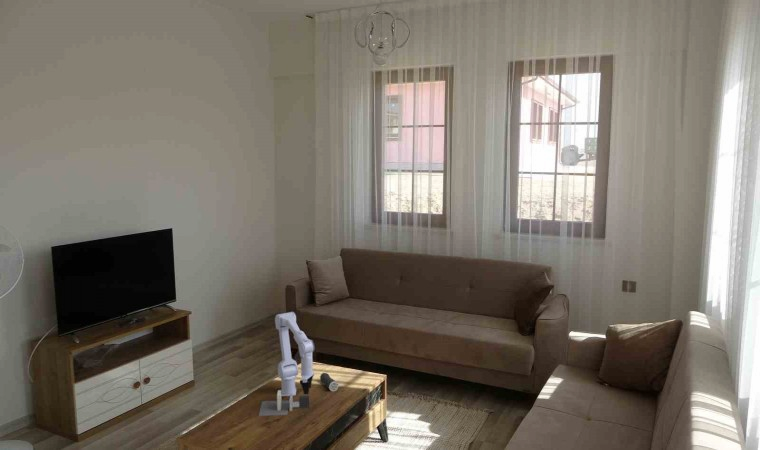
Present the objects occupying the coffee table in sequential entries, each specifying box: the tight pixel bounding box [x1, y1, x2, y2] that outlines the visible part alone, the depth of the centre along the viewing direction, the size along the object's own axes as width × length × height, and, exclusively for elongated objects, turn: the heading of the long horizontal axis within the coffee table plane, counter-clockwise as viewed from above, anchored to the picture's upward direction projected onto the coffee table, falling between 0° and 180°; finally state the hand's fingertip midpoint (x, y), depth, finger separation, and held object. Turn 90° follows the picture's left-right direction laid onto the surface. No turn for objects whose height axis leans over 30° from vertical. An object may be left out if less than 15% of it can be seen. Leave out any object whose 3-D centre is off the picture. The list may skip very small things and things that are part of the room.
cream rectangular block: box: [276, 389, 282, 410], centre depth 286 cm, size 6×2×8 cm, turn 6°
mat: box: [258, 399, 290, 417], centre depth 286 cm, size 16×14×1 cm
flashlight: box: [319, 372, 340, 392], centre depth 314 cm, size 15×5×5 cm, turn 27°
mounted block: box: [289, 394, 310, 412], centre depth 287 cm, size 8×10×6 cm
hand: (307, 390), depth 285 cm, fingers open, 7 cm apart
